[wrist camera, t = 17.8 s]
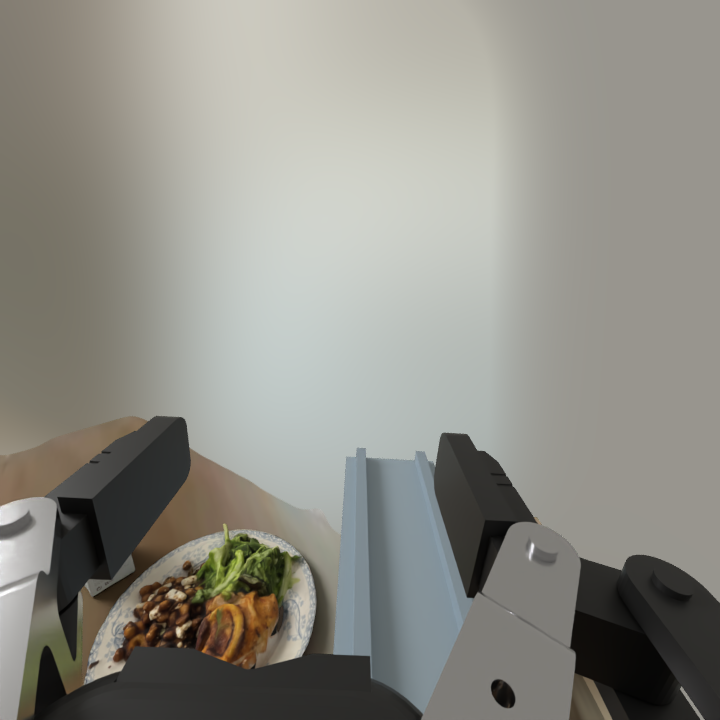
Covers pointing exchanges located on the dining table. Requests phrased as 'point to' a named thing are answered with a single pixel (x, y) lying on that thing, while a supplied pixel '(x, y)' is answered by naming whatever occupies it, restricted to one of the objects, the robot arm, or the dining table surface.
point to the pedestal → (397, 575)
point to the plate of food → (214, 604)
